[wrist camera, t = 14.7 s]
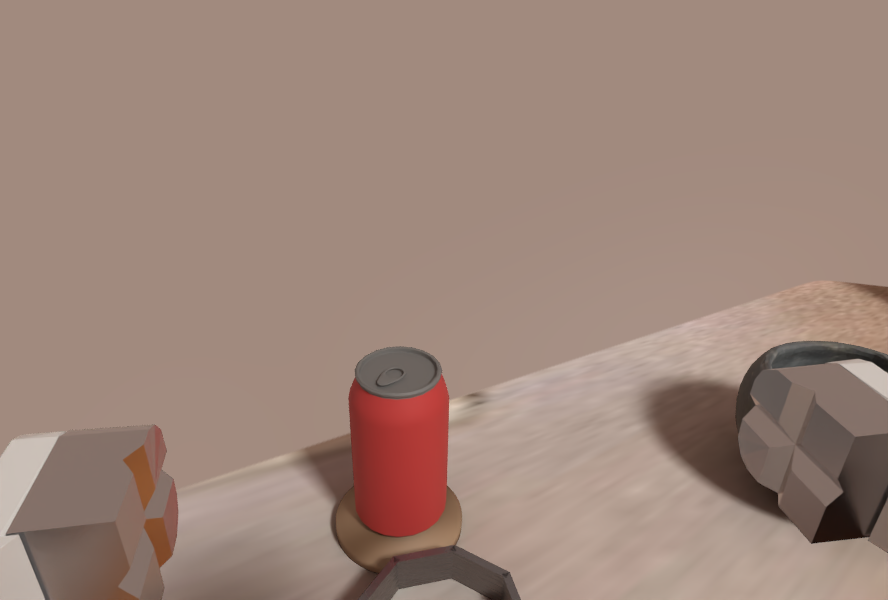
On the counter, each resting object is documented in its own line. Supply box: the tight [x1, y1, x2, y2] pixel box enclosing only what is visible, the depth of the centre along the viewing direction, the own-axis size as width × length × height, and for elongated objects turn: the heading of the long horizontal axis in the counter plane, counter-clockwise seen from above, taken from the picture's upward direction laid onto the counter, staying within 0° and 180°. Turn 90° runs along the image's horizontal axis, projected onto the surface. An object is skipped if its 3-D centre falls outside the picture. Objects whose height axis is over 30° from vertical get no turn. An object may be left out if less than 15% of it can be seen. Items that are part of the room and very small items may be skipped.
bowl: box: [736, 341, 888, 433], centre depth 47 cm, size 15×15×10 cm
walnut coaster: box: [336, 486, 462, 573], centre depth 45 cm, size 9×9×1 cm
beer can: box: [349, 347, 449, 537], centre depth 43 cm, size 7×7×12 cm
